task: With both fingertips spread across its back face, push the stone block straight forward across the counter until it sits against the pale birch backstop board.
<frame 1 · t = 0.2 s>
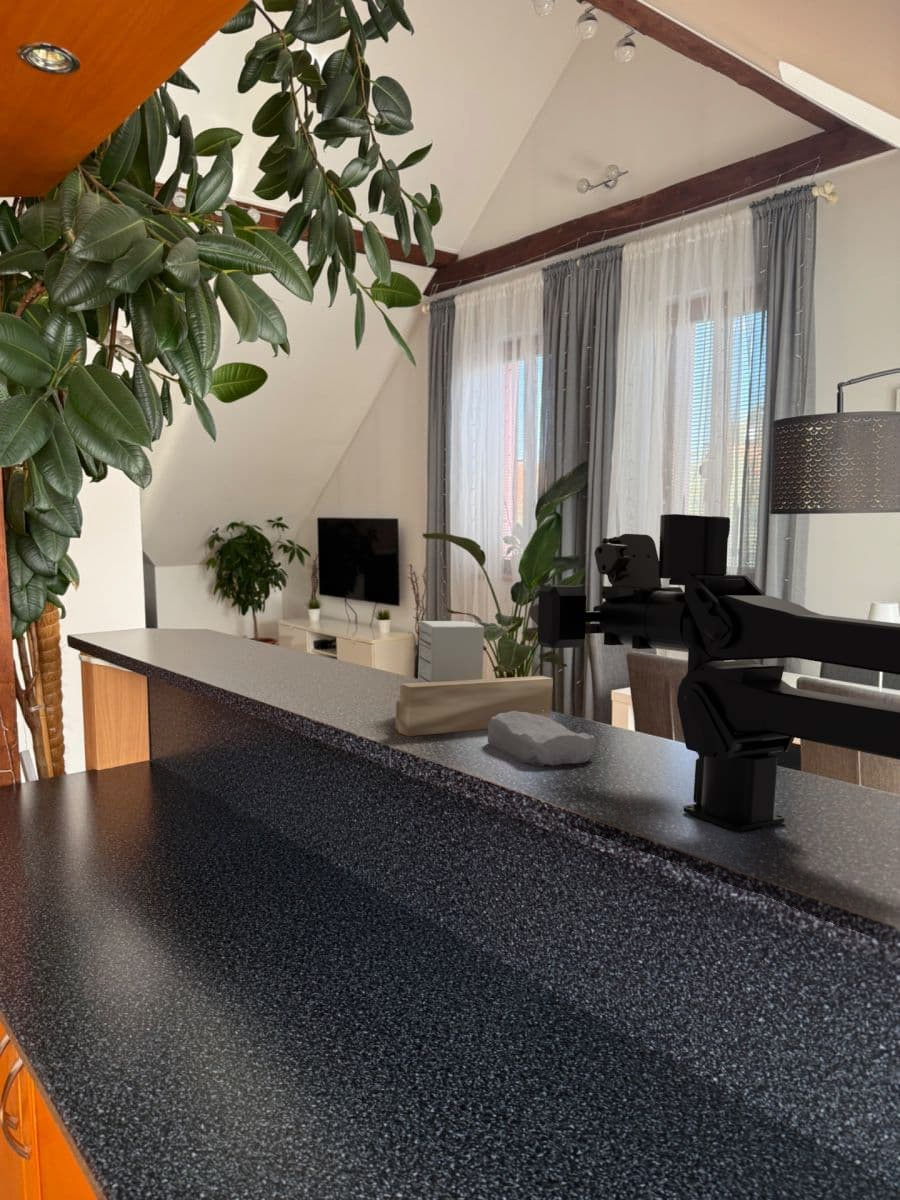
hand: (563, 611, 102), 16 cm above the worktop, tool horizontal, fingers open, 9 cm apart
supplement box: (447, 715, 125), on the worktop
stone block: (543, 756, 105), on the worktop
backstop: (477, 727, 117), on the worktop
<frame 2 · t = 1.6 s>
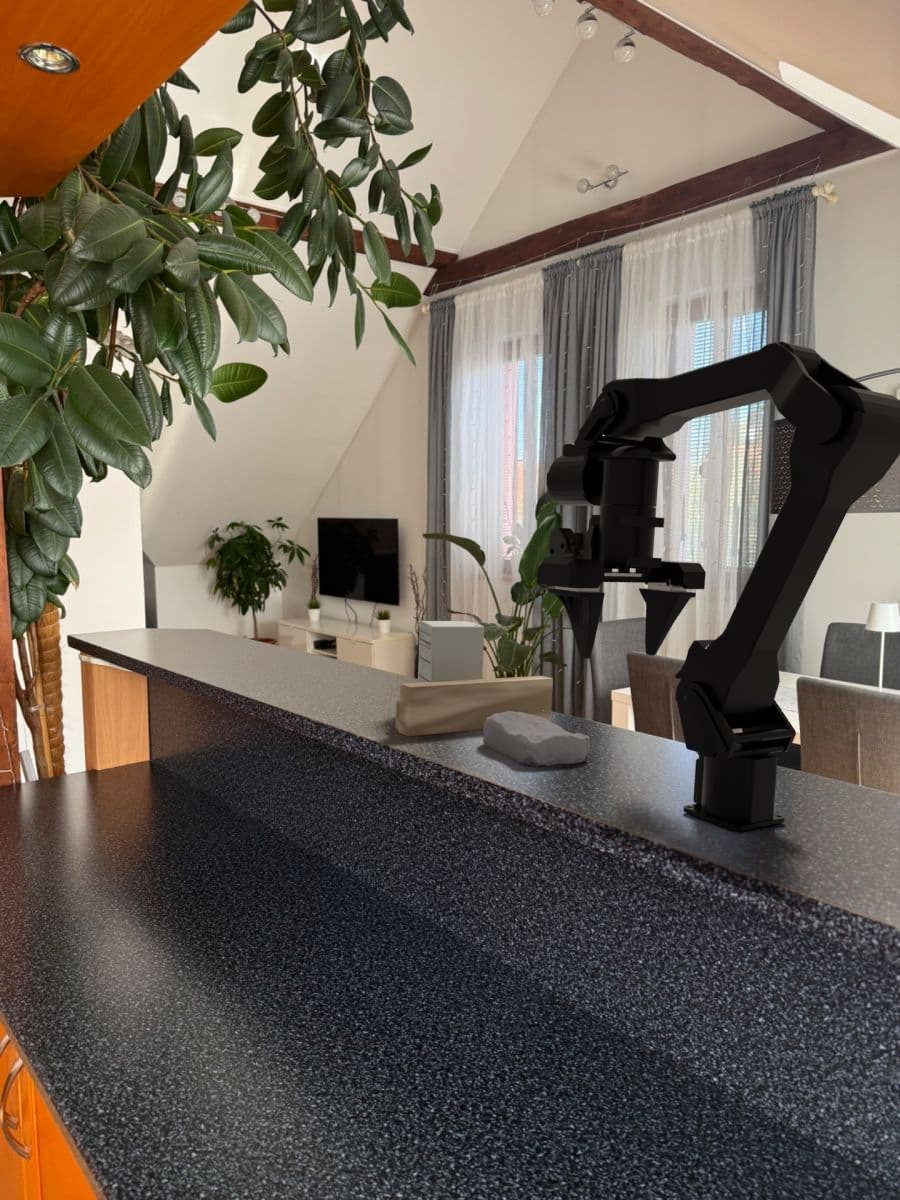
hand: (618, 656, 95), 13 cm above the worktop, tool pointing down, fingers open, 9 cm apart
nothing on the worktop moved.
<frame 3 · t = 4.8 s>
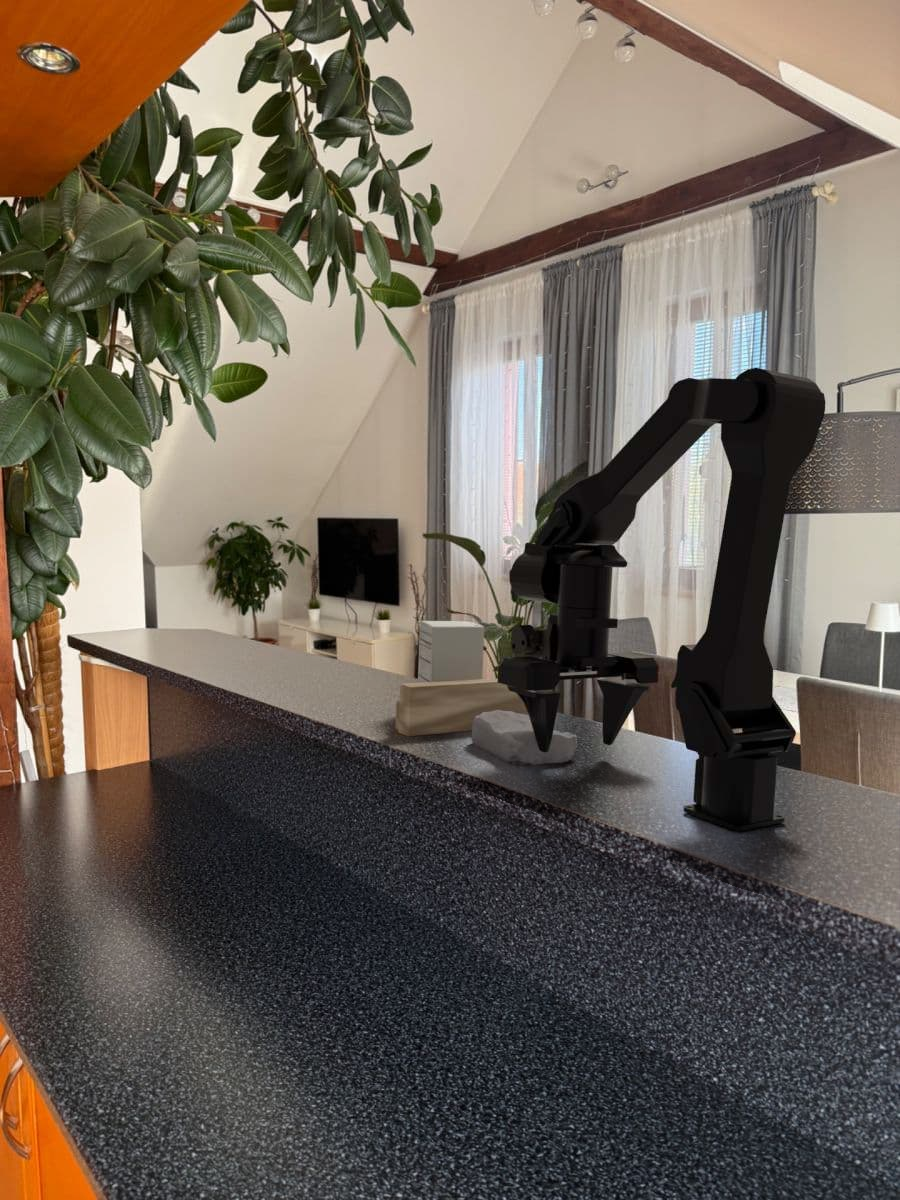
hand: (576, 748, 100), 2 cm above the worktop, tool pointing down, fingers open, 9 cm apart
stone block: (526, 755, 105), on the worktop
everything else where it was.
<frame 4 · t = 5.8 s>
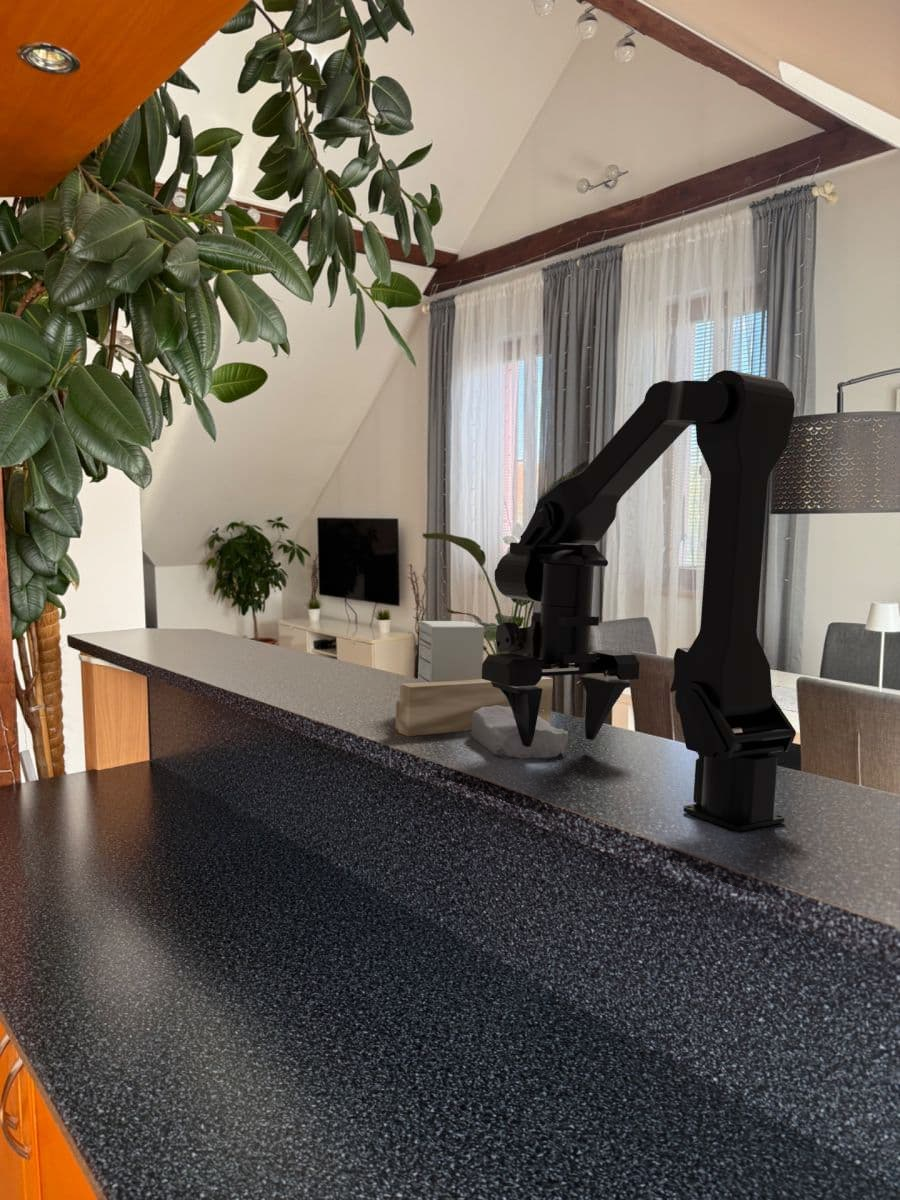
hand: (559, 742, 103), 2 cm above the worktop, tool pointing down, fingers open, 9 cm apart
stone block: (521, 750, 108), on the worktop
everything else where it was.
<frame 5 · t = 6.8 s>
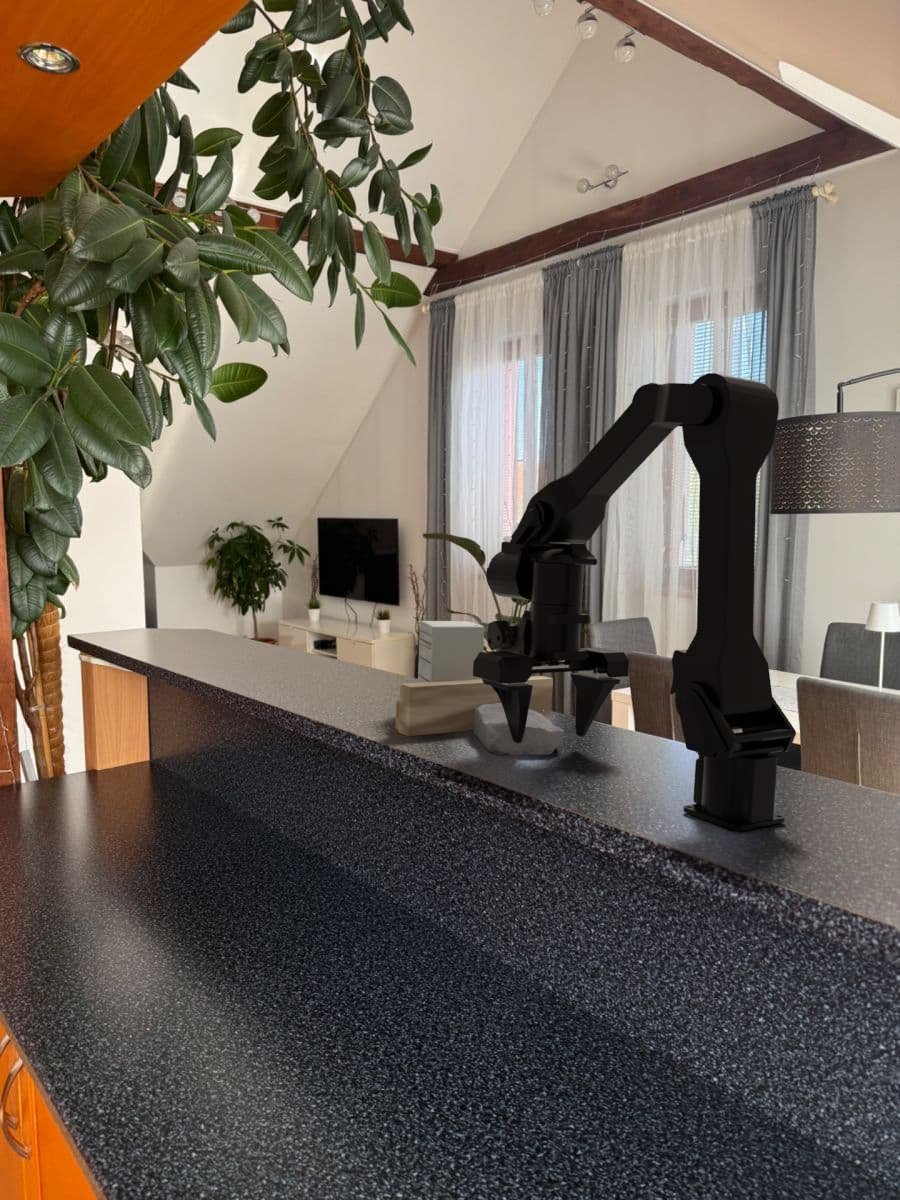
hand: (549, 739, 104), 2 cm above the worktop, tool pointing down, fingers open, 9 cm apart
stone block: (519, 747, 109), on the worktop
everything else where it was.
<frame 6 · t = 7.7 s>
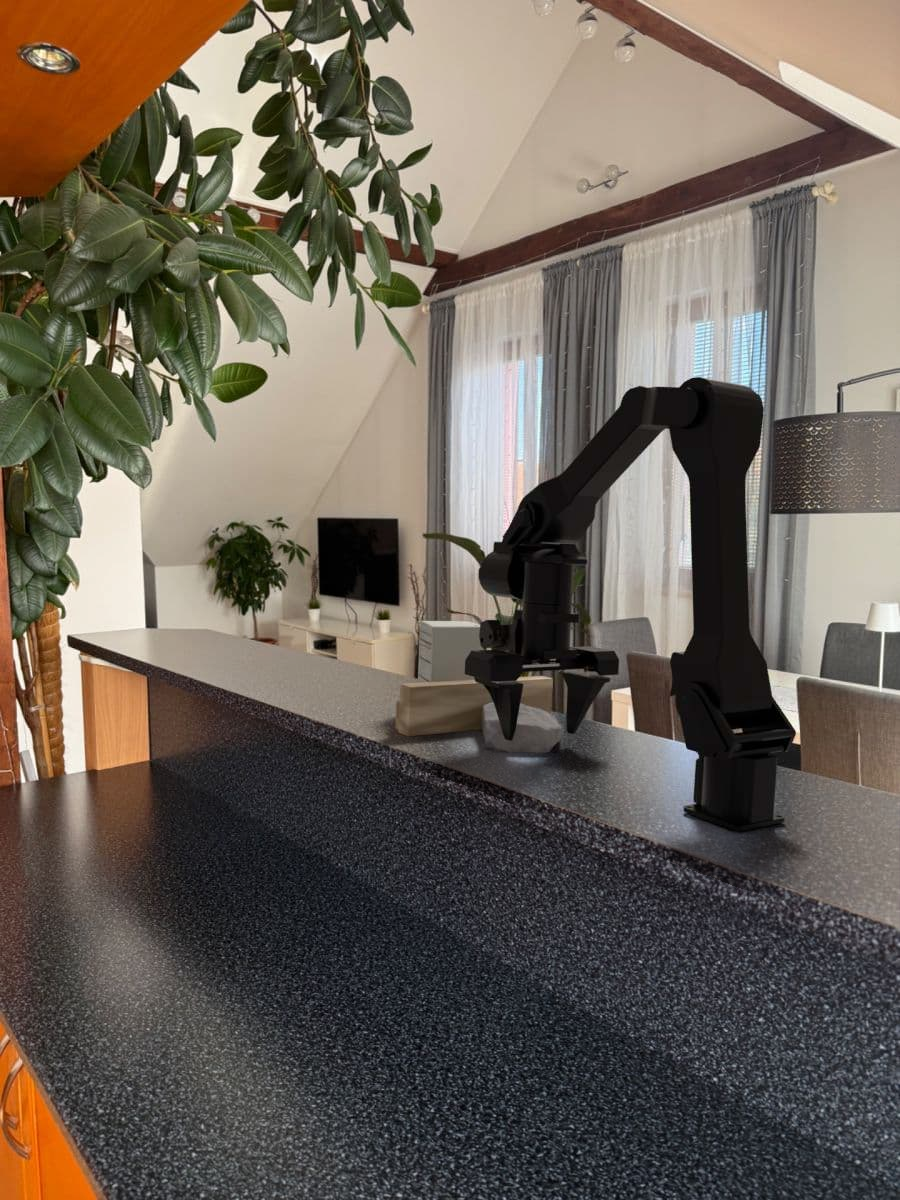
hand: (540, 736, 106), 2 cm above the worktop, tool pointing down, fingers open, 9 cm apart
stone block: (522, 745, 110), on the worktop
everything else where it was.
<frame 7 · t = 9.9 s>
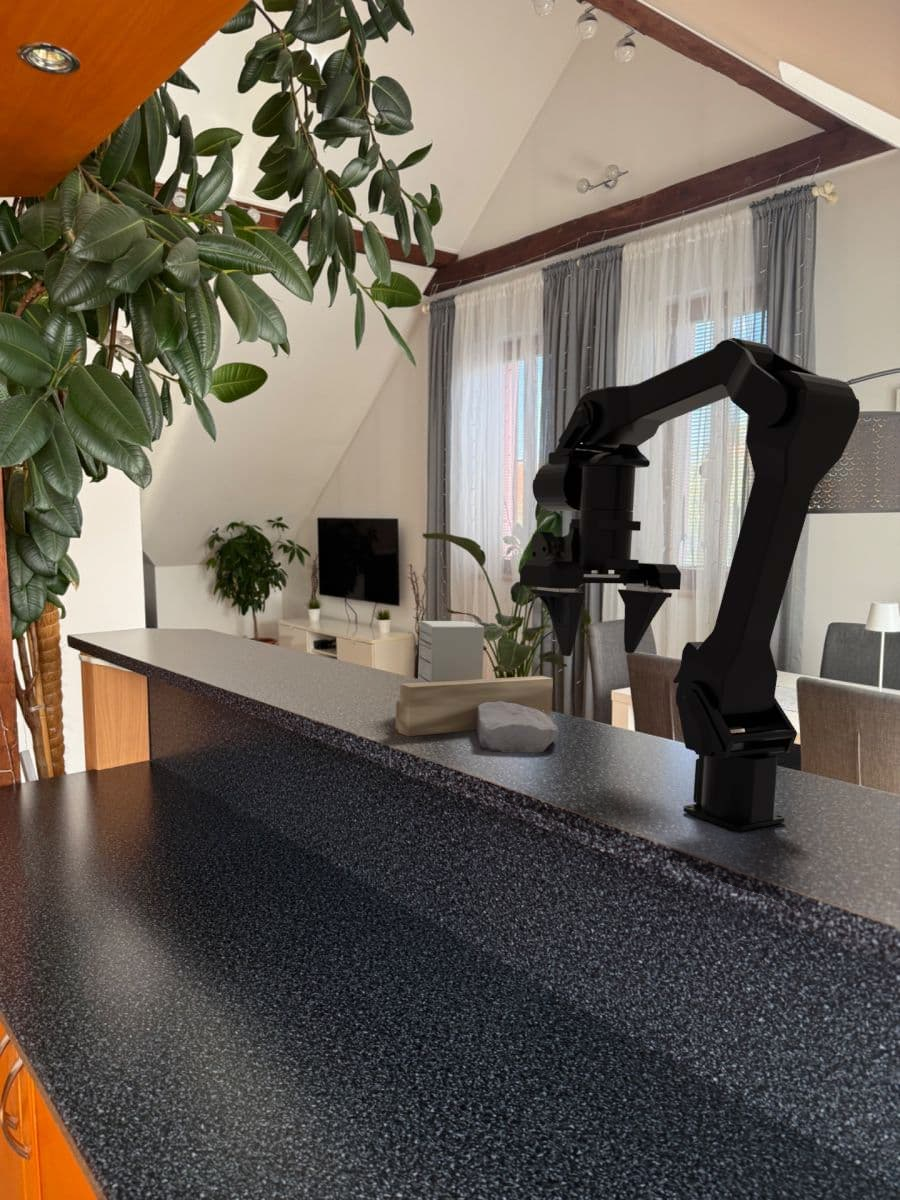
hand: (598, 654, 99), 12 cm above the worktop, tool pointing down, fingers open, 9 cm apart
nothing on the worktop moved.
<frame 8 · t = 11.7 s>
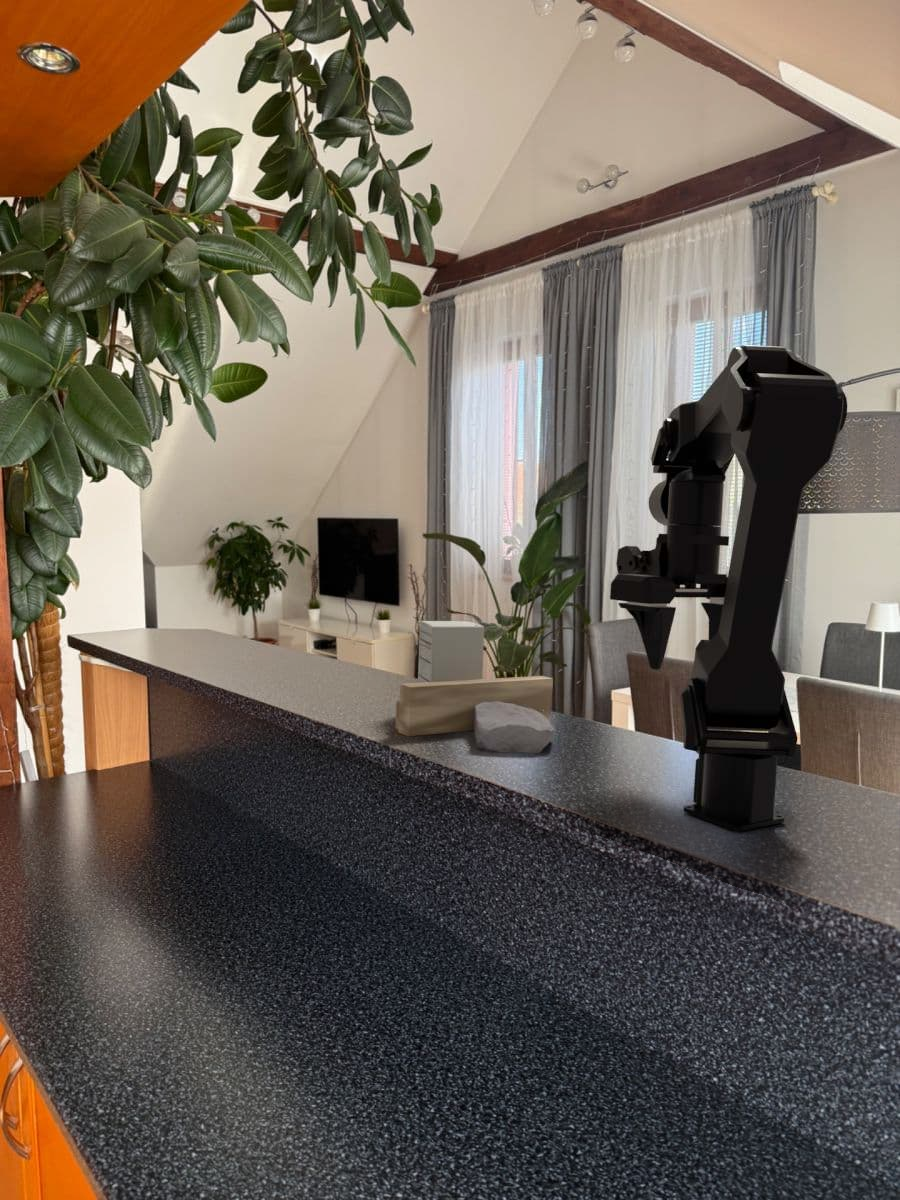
hand: (685, 667, 100), 11 cm above the worktop, tool pointing down, fingers open, 9 cm apart
at the end: stone block inside the target area on the worktop beside the backstop (1.4 cm from its centre), on the worktop; stone block moved 5.8 cm from its start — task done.
